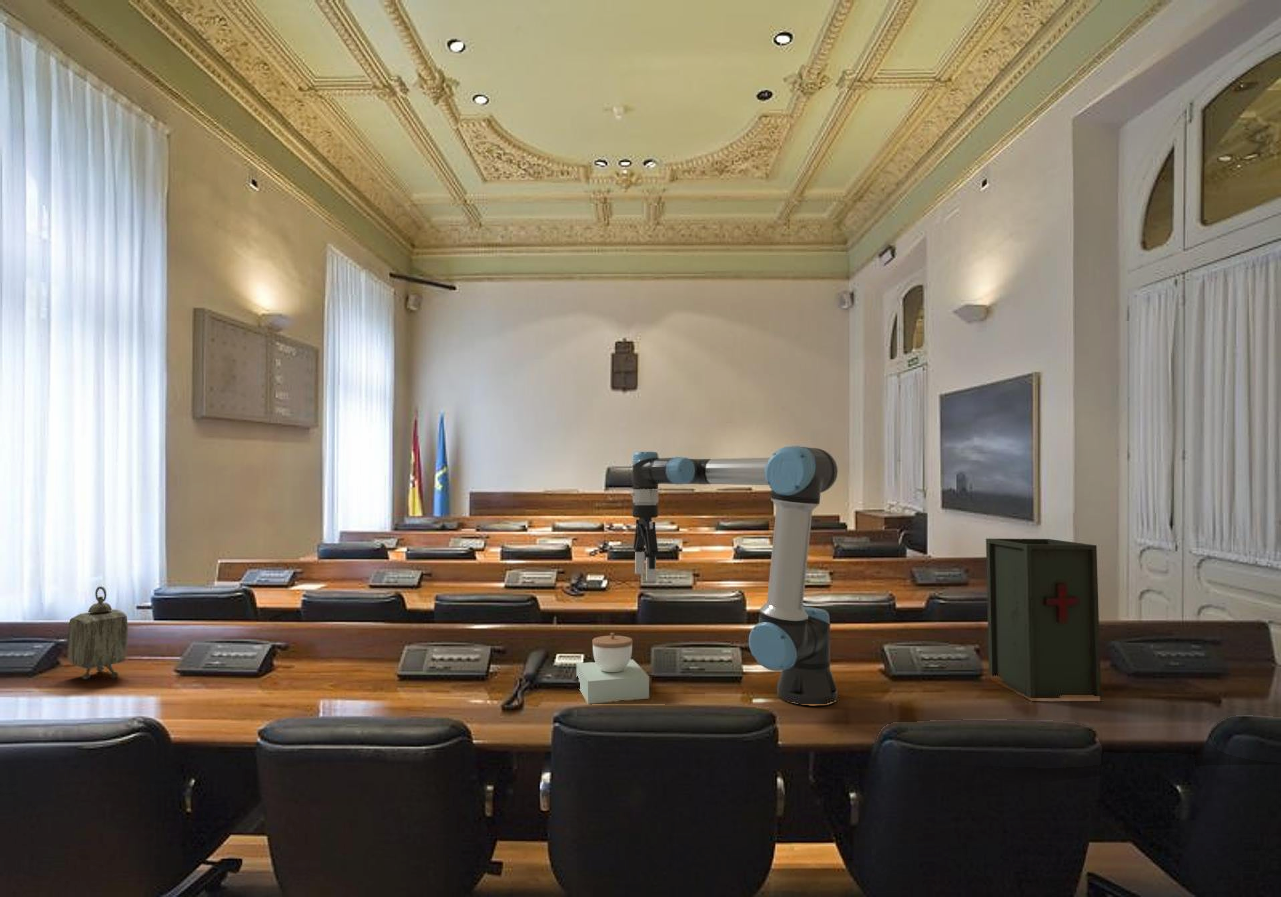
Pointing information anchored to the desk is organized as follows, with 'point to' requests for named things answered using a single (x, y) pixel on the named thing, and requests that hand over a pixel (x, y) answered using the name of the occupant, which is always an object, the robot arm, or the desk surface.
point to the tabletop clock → (98, 637)
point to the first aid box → (1043, 616)
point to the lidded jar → (612, 652)
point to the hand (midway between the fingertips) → (645, 577)
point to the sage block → (612, 683)
